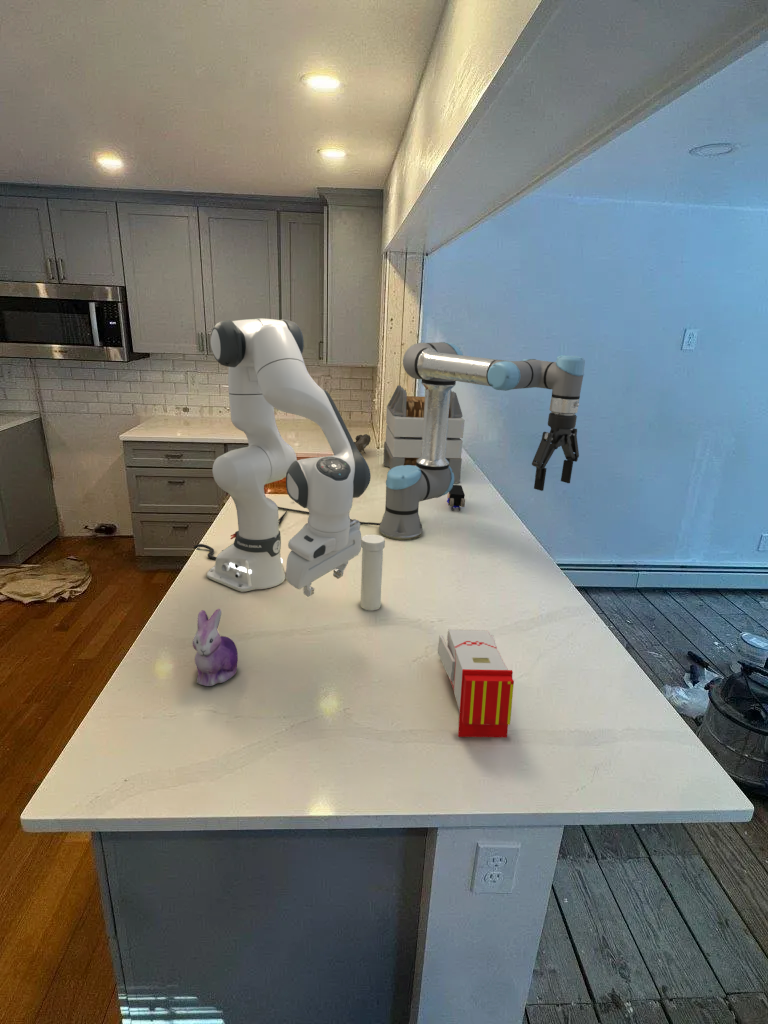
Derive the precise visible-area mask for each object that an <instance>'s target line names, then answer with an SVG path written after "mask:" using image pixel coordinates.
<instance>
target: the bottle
mask: <svg viewBox="0 0 768 1024" xmlns="http://www.w3.org/2000/svg"><path fill="white" fill-rule="evenodd" d="M383 558H384V549H382V550H380V551H367V550H364V549H363V548H362V547H361V577H360V579H361V580H360V581H361V583H360V607H361V609H363V610H366V611H377V610H379V609H380V608H381V602H382V583H383V582H382V581H383V580H382V579H383V560H384V559H383Z"/></svg>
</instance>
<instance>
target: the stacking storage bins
mask: <svg viewBox="0 0 768 1024" xmlns="http://www.w3.org/2000/svg"><path fill="white" fill-rule="evenodd" d="M407 394H408V393H407V390H406V389H404V388H403V387H402V385H399V384H398V385H397V386H396V388H395V390H394V392H393V394H392V395H391V398H390V400H389V402H388V404H387V405H386V413H385V414H386V415H385V423H386V428H385V438H384V442H383V466H384V467H388V468H389V470H390V469H392V468H394V467H396V466H401V465H404V466H405V465H413V466H416V461H417V459H418V458H420V457H421V449H422V434H423V419H424V404H425V396H415V395H414V396H413V395H412V396H411V395H407ZM464 429H465V419H464V418H463V411H462V408H461V405H460V402H459V398H458V395H457V392H455V391H453V390H451V392H450V404H449V416H448V428H447V441H446V453H445V458H446V459H447V461H448V462H449V466H450V467H451V469H452V473H454V484H455V483H456V484H459V483H461V472H462V461H463V460H462V453H463V442H464V441H463V440H462V439H463V438H464V431H465V430H464Z"/></svg>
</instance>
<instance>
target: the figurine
mask: <svg viewBox="0 0 768 1024" xmlns="http://www.w3.org/2000/svg"><path fill="white" fill-rule="evenodd" d="M221 617H222V609H220V608H217V609H216V610H214V611H213V613H212V614H211V616H210V617H208V614H207V612H206V610H204V609H201V610H200V611H199V612H198V614H197V617H196V618H197V620H196V621H197V622H196V624H197V631H196V632H195V634H194V637H193V639H192V647H193V649H194V650H195V651H196V654H195V656H194V664H195V666H196V667H195V668H196V670H197V679H196V682H197V684H198V685H201V686H204V687H205V686H206V687H213V686H215V685H216V684H222V683H225V682H227V681H228V680H229V679H231V678H232V677H234V675H235V676H236V674H237V671H238V663H239V662H238V661H239V656H238V655H239V653H238V648H237V645H236V644H235V642H234V640H233V639H232V638H230V637H228V636H226V635H225V636H223V635H220V633H219V631H218V629H219V624H220V622H221Z"/></svg>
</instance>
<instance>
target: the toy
mask: <svg viewBox="0 0 768 1024" xmlns="http://www.w3.org/2000/svg"><path fill="white" fill-rule="evenodd" d="M446 640H447V643H446V641H445V639H444V636H443V635H442V634H439V637H438V646H437V656H438V657H439V659H440V661H441V663H442V666H443V668H444V670H445V672H446V674H447V677H448V679H449V681H450V684H451V687H452V690H453V693H454V697H455V701H456V705H457V708H458V711H459V714H458V715H459V716H458V730H457V731H458V732H457V737H458V738H508V731H509V726H510V725H511V717H512V707H513V697H514V696H513V695H514V684H515V680H514V679H513V673H514V671H513V670H512V669H508V667H507V665H506V662H505V661H504V659H503V658H502V655H501V653H500V651H499V649H498V647H497V643H496V639H495V637H494V635H493V634H491V632H490V631H489V629H467V628H466V629H465V628H463V629H461V628H460V629H459V628H448V630H447V639H446Z"/></svg>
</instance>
